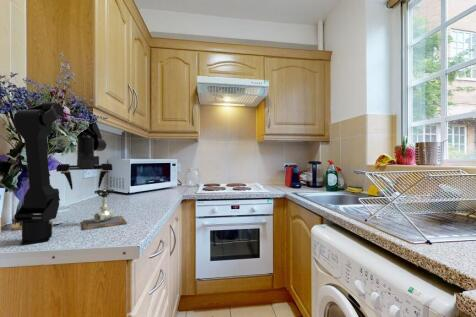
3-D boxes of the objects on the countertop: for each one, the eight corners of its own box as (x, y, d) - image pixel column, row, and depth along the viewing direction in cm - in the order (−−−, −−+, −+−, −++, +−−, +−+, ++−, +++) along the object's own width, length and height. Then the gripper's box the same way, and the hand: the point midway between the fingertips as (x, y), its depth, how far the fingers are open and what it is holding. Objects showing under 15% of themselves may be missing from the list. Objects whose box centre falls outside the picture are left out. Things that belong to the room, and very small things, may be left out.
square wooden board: (83, 230, 83) (83, 227, 83) (82, 221, 95) (82, 219, 95) (126, 224, 91) (126, 221, 91) (121, 217, 103) (121, 215, 103)
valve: (117, 219, 95) (117, 189, 95) (104, 223, 89) (104, 191, 89) (104, 218, 97) (104, 189, 97) (90, 222, 91) (90, 191, 91)
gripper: (55, 148, 85) (55, 192, 85) (113, 149, 95) (113, 189, 95) (57, 150, 94) (57, 189, 94) (110, 151, 105) (110, 186, 104)
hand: (85, 188), depth 97 cm, fingers open, 9 cm apart
